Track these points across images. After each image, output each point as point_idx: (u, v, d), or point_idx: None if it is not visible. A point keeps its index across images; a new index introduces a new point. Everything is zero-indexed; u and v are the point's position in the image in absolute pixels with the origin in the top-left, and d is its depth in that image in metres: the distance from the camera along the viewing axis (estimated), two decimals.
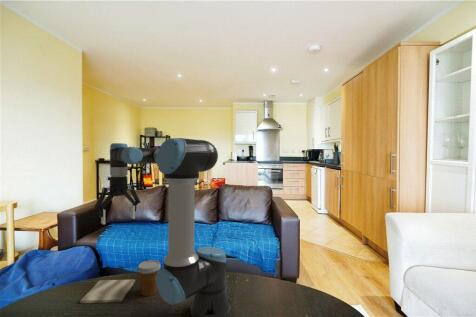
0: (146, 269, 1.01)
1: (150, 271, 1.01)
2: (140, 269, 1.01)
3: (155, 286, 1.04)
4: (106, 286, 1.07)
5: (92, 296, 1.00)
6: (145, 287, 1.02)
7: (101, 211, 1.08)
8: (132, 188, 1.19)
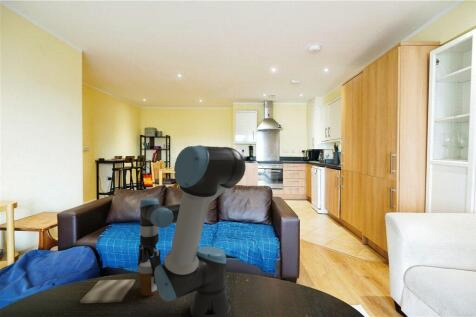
0: (146, 269, 1.01)
1: (150, 271, 1.01)
2: (140, 269, 1.01)
3: None
4: (106, 286, 1.07)
5: (92, 296, 1.00)
6: (145, 287, 1.02)
7: None
8: (154, 254, 1.00)
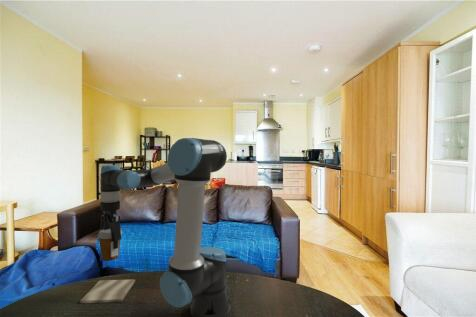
0: (105, 234, 1.01)
1: (109, 236, 1.01)
2: (100, 234, 1.01)
3: None
4: (106, 286, 1.07)
5: (92, 296, 1.00)
6: (105, 252, 1.02)
7: None
8: (113, 220, 1.00)
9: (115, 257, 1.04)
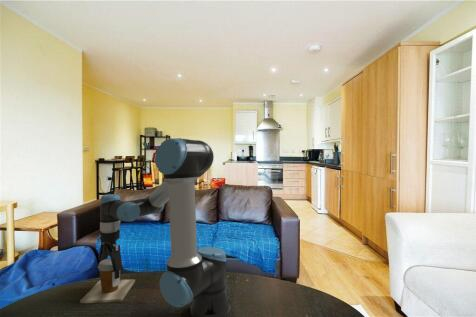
0: (106, 266, 1.01)
1: (110, 268, 1.01)
2: (100, 266, 1.01)
3: None
4: None
5: (92, 296, 1.00)
6: (105, 284, 1.02)
7: None
8: (113, 249, 1.00)
9: (115, 288, 1.04)
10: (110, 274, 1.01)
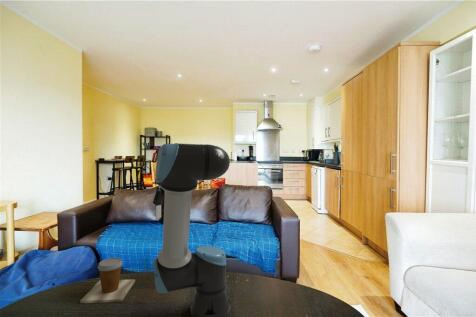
0: (105, 266, 1.01)
1: (110, 268, 1.01)
2: (100, 266, 1.01)
3: (116, 283, 1.04)
4: None
5: (92, 296, 1.00)
6: (105, 284, 1.02)
7: (156, 206, 1.26)
8: None
9: (115, 288, 1.04)
10: (110, 274, 1.01)
